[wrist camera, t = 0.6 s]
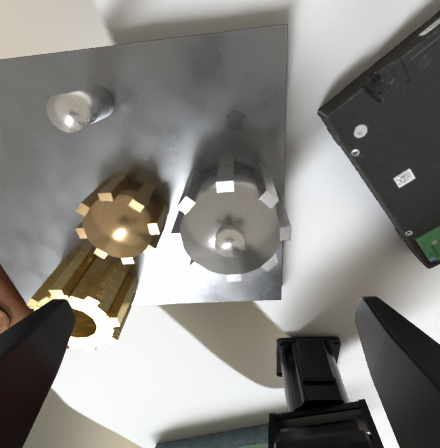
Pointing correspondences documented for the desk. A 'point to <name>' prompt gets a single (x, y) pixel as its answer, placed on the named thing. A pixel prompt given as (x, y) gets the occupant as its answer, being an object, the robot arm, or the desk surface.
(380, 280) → the desk surface
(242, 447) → the planter
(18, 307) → the sunglasses case
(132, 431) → the desk surface
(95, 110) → the carrier
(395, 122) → the disk drive
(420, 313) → the desk surface
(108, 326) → the brass gear
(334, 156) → the desk surface
